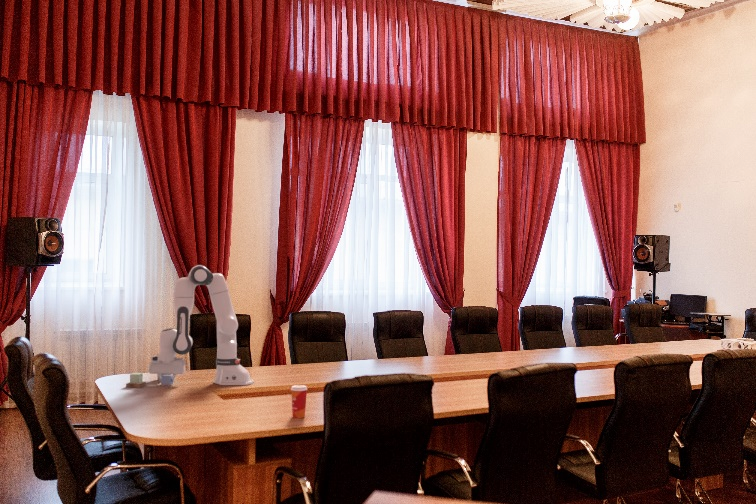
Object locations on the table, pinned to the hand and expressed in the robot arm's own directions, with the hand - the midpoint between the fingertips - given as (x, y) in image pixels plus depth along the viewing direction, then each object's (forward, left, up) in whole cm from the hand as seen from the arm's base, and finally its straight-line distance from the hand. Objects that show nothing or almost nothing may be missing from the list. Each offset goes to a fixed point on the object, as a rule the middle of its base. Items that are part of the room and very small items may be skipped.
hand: (167, 381), depth 392 cm
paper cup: (-87, +67, -2) cm, 110 cm away
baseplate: (+15, +7, -2) cm, 17 cm away
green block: (+15, +7, 0) cm, 16 cm away
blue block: (0, 0, -2) cm, 2 cm away
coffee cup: (+7, -14, -2) cm, 16 cm away
